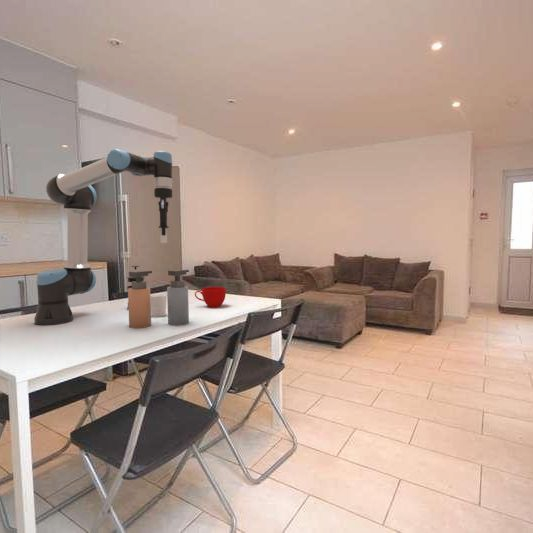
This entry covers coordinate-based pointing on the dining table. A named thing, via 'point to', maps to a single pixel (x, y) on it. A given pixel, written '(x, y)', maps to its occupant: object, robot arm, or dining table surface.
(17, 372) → the dining table surface
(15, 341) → the dining table surface
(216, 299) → the ceramic cup
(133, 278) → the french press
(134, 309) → the terracotta pump bottle
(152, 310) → the white cup
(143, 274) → the grey dispenser pump
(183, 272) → the slate pump head
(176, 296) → the slate pump bottle
